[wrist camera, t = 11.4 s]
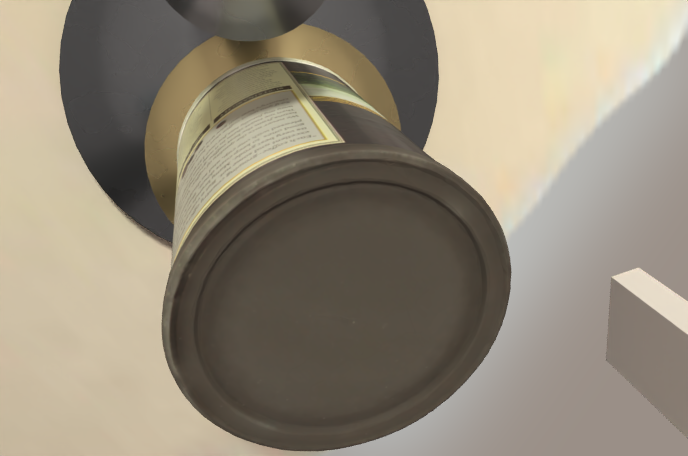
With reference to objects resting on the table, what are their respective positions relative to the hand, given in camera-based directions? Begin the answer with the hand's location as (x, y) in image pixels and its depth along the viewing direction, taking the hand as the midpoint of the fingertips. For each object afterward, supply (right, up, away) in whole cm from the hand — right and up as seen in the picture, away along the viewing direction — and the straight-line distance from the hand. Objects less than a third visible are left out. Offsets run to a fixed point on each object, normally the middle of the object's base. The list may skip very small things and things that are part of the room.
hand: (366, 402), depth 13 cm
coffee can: (-4, +8, +15) cm, 17 cm away
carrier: (-5, +11, +15) cm, 19 cm away
